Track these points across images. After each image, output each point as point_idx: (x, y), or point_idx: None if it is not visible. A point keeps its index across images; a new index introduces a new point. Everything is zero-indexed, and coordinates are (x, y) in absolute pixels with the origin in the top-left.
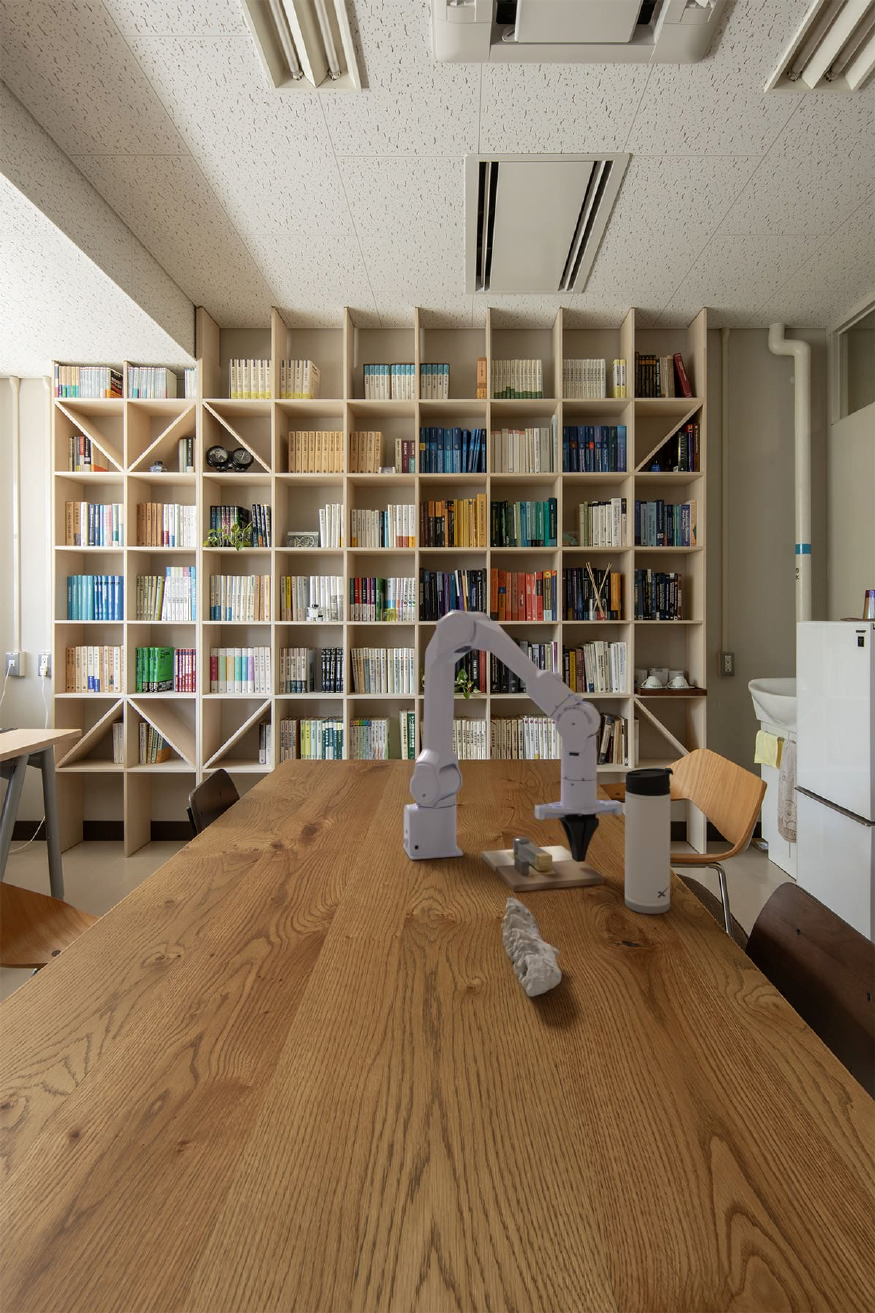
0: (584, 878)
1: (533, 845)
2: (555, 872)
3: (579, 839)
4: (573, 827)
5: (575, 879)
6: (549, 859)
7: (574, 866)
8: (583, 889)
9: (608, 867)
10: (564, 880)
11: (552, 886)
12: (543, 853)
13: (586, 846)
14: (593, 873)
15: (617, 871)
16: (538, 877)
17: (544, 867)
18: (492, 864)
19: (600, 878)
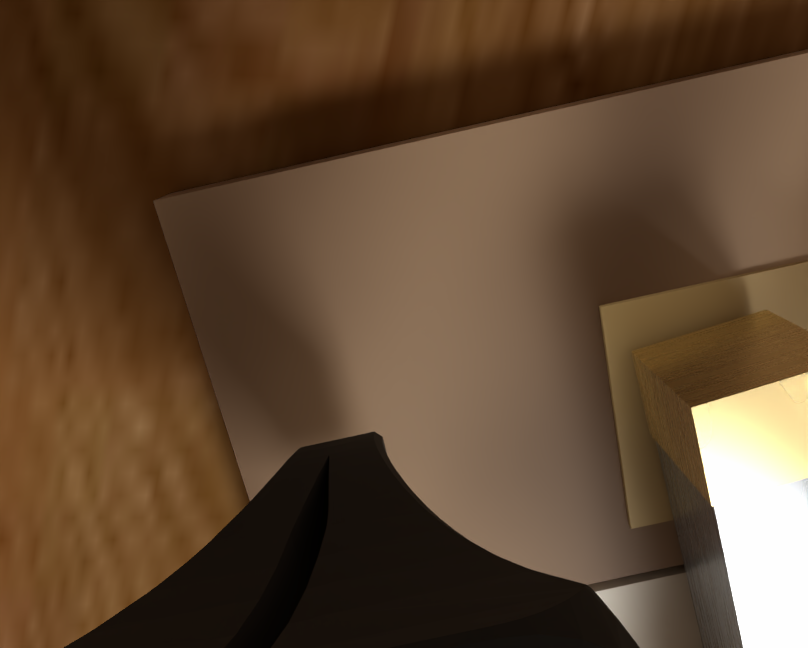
0: (355, 168)
1: None
2: (594, 337)
3: (362, 536)
4: (536, 595)
5: (452, 136)
6: (706, 381)
7: None
8: (389, 46)
9: (71, 579)
10: (567, 111)
11: (675, 79)
12: (771, 472)
13: (258, 514)
14: (240, 304)
15: (5, 491)
16: (792, 203)
17: (728, 333)
18: None
19: (191, 191)
